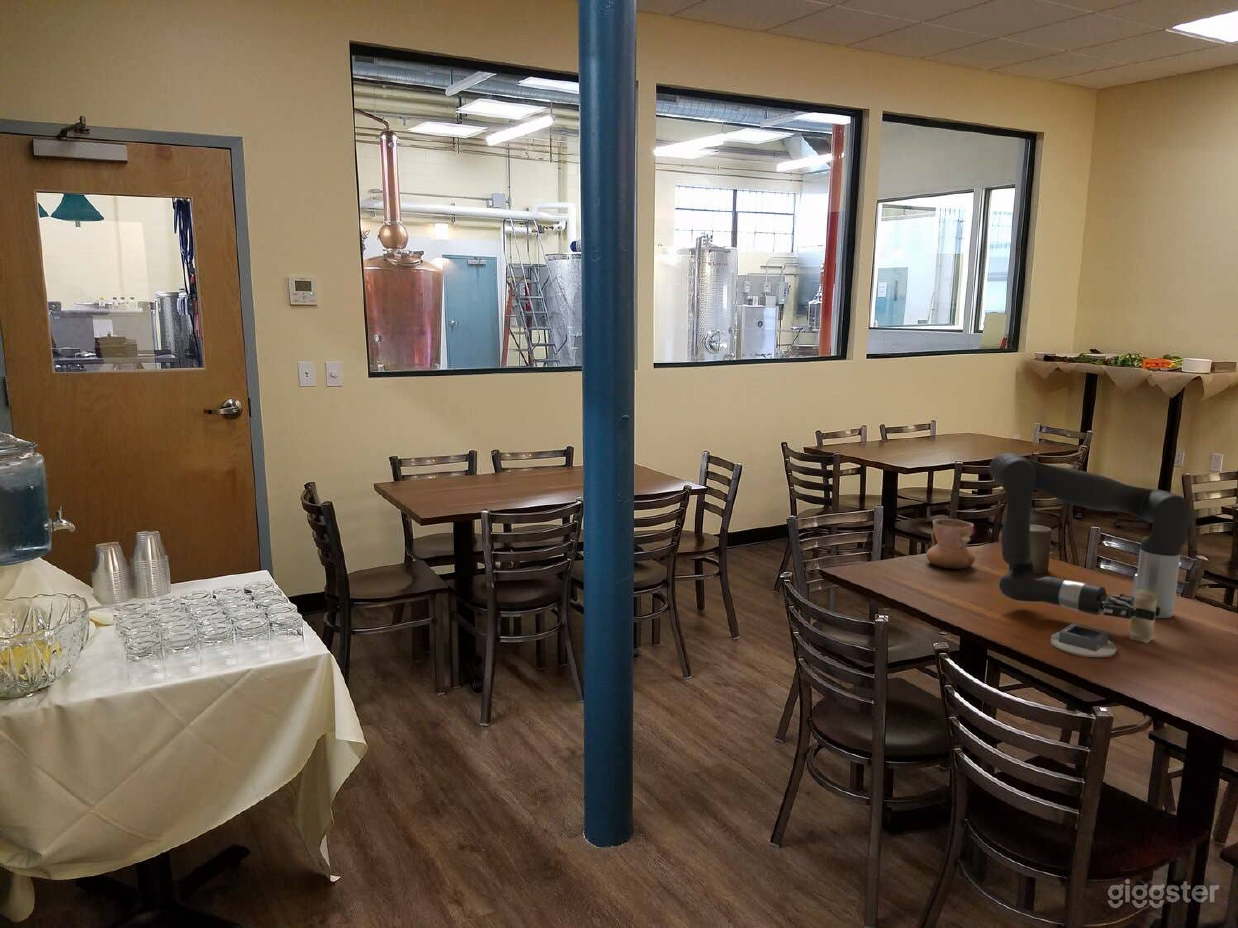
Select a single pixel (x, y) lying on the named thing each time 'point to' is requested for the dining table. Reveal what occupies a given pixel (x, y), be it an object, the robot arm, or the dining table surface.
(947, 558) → the ceramic jug
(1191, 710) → the dining table surface
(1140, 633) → the beige rectangular block
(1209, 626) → the dining table surface
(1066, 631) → the rosette plate
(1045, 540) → the pillar candle
